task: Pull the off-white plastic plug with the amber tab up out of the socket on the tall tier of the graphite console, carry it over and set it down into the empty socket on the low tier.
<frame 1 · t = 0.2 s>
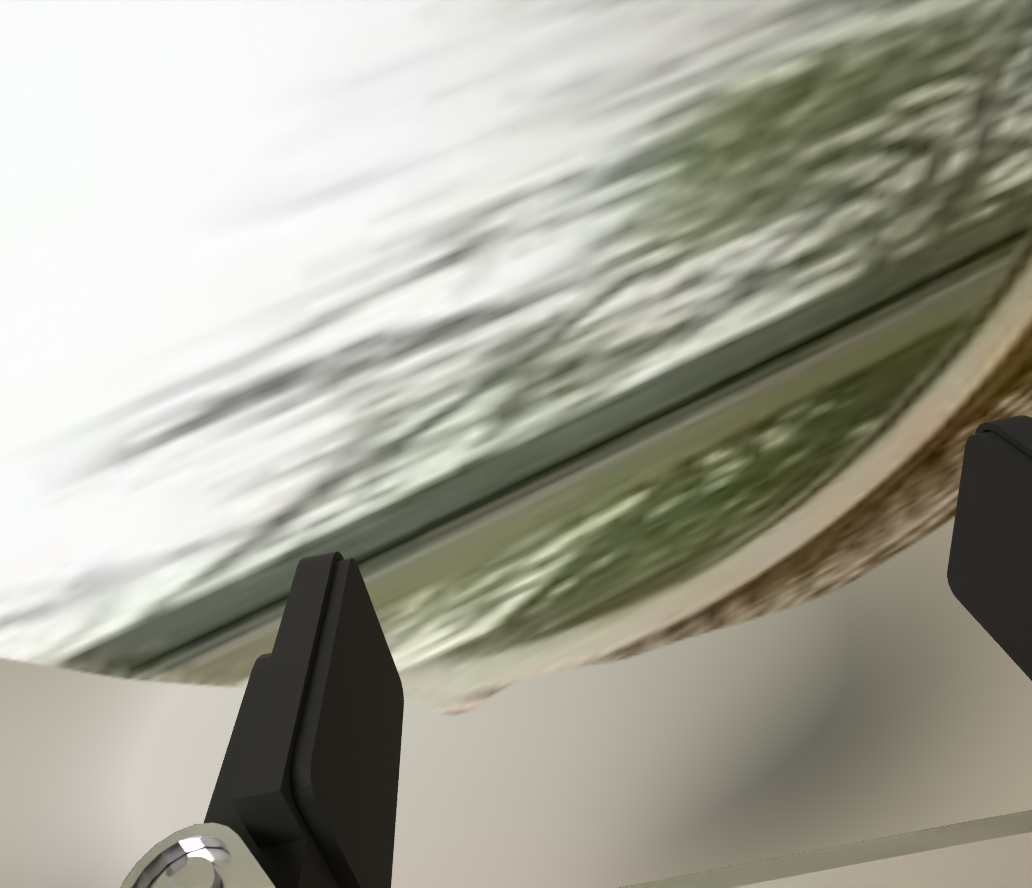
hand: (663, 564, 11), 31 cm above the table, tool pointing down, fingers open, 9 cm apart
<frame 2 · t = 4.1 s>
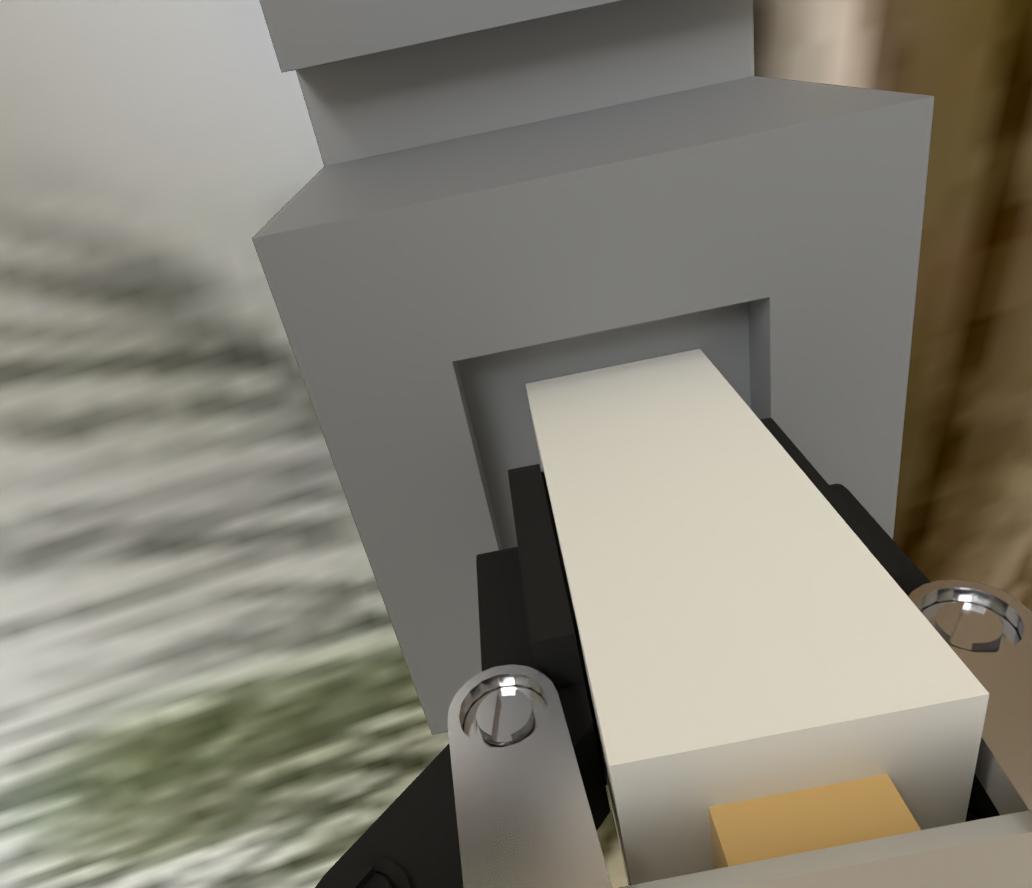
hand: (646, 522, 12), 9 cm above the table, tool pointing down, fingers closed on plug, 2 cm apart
console: (526, 71, 17), on the table
plug: (624, 460, 14), point 7 cm above the table, touching gripper
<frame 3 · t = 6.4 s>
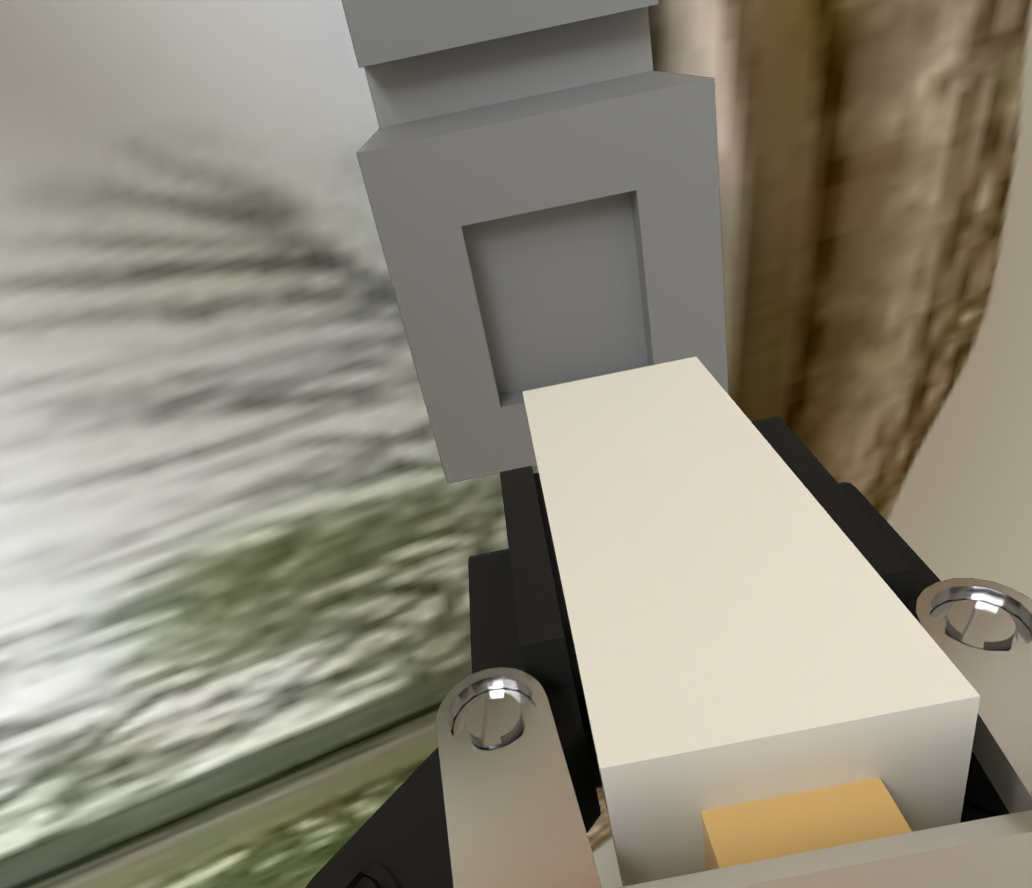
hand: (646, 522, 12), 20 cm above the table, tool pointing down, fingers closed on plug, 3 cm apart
console: (508, 68, 26), on the table
plug: (621, 468, 14), point 18 cm above the table, touching gripper
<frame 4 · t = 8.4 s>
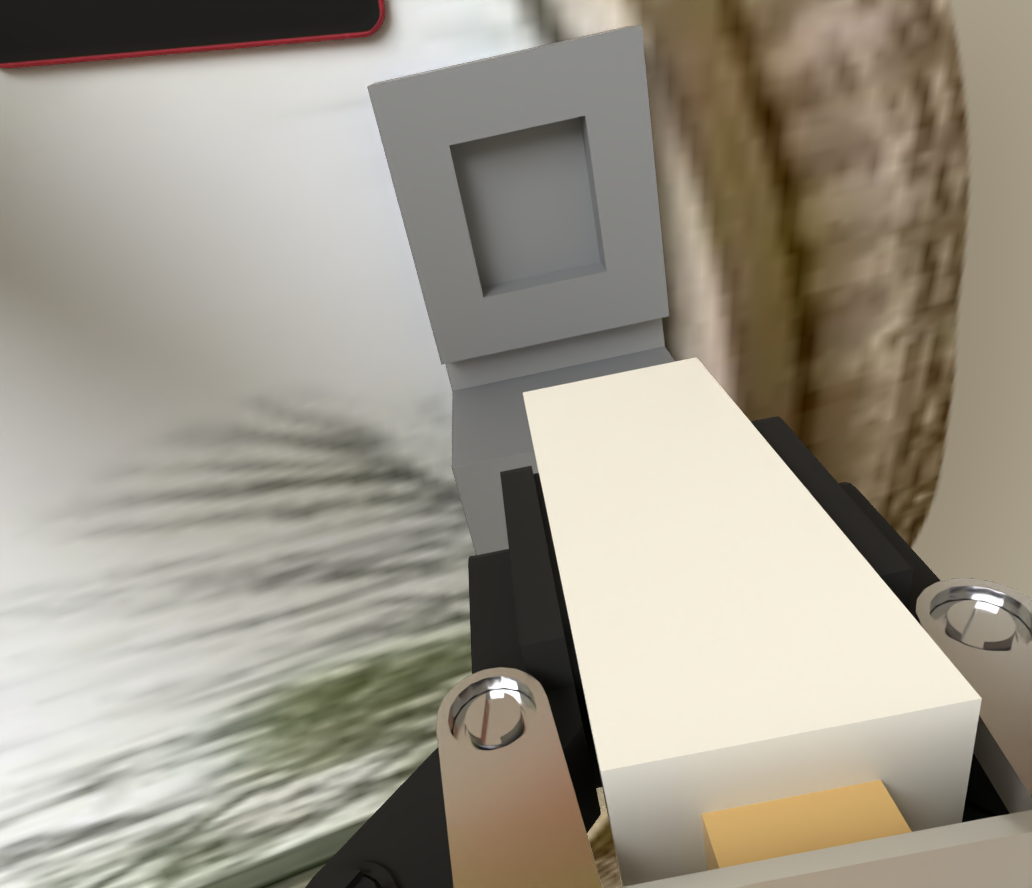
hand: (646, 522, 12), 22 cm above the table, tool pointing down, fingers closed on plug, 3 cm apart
console: (552, 341, 34), on the table
plug: (622, 469, 14), point 20 cm above the table, touching gripper
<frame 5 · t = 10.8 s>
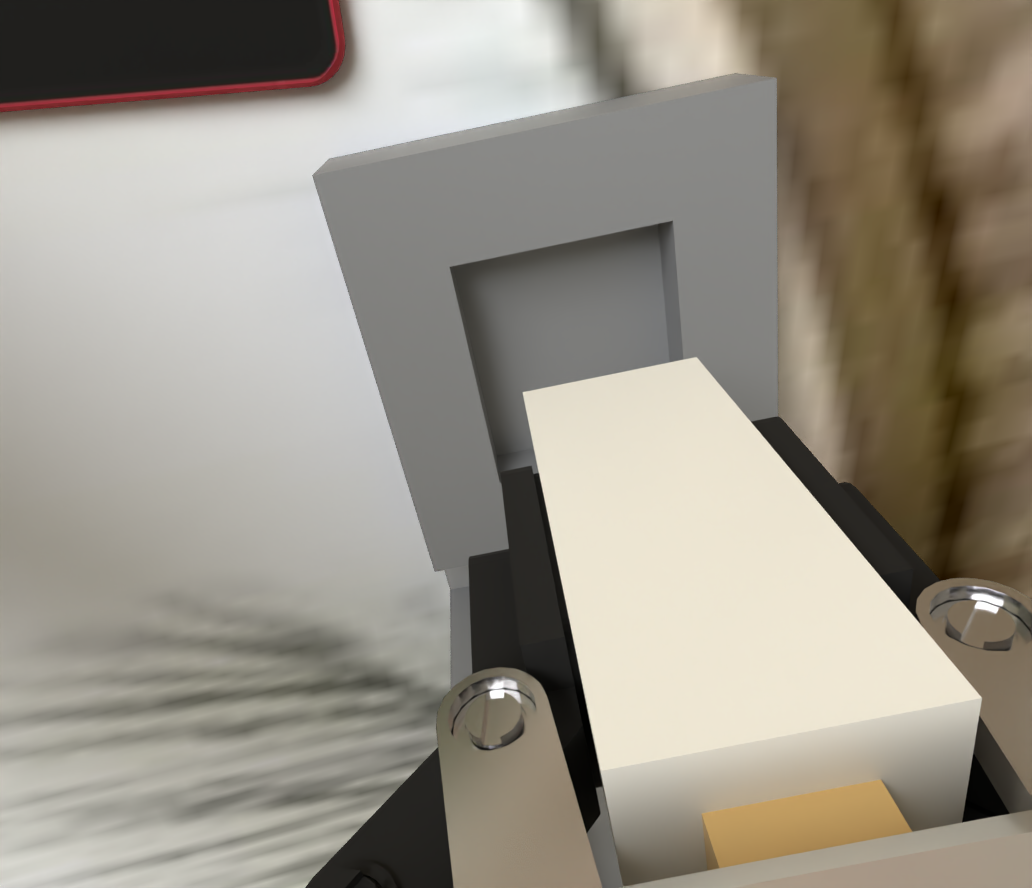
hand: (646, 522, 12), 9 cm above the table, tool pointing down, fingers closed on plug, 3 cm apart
console: (594, 515, 23), on the table
plug: (622, 468, 14), point 7 cm above the table, touching gripper
when the fingers open (4 cm above the table, at t = 12.8 s): plug stays where it is, resting on console.
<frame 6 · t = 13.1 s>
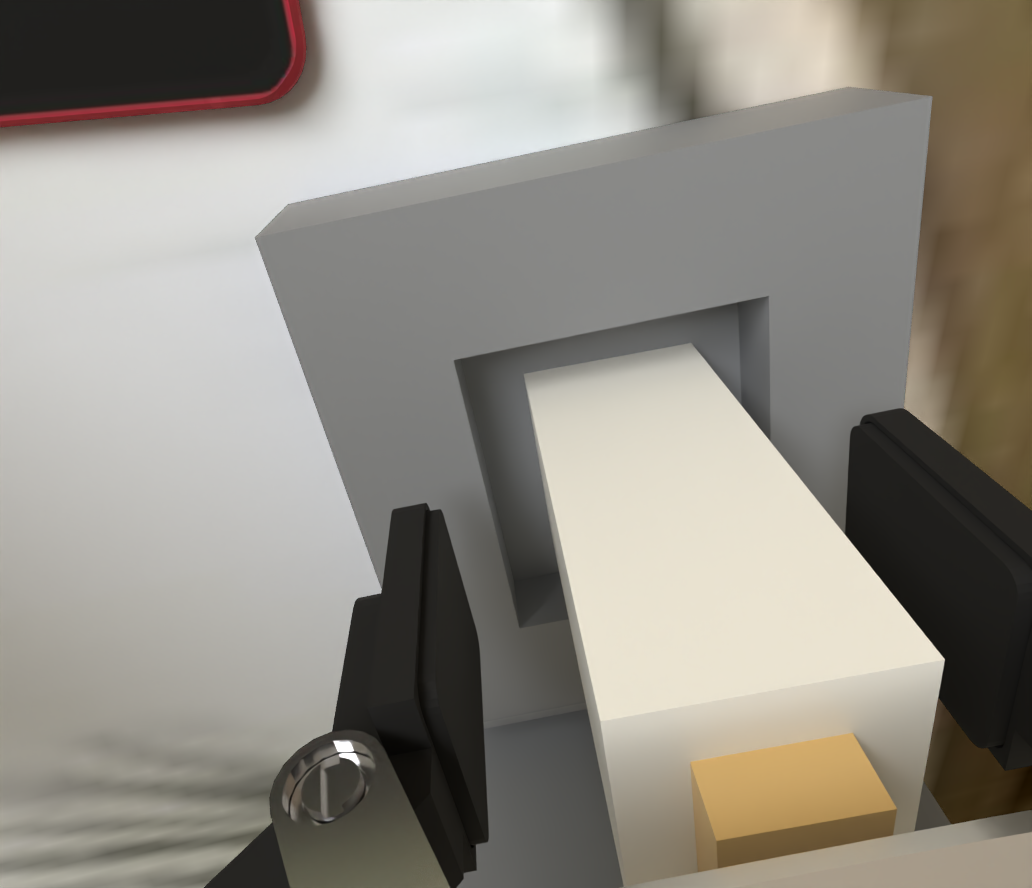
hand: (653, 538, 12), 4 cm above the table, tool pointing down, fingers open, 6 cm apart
console: (635, 639, 19), on the table
plug: (617, 449, 15), point 1 cm above the table, touching console
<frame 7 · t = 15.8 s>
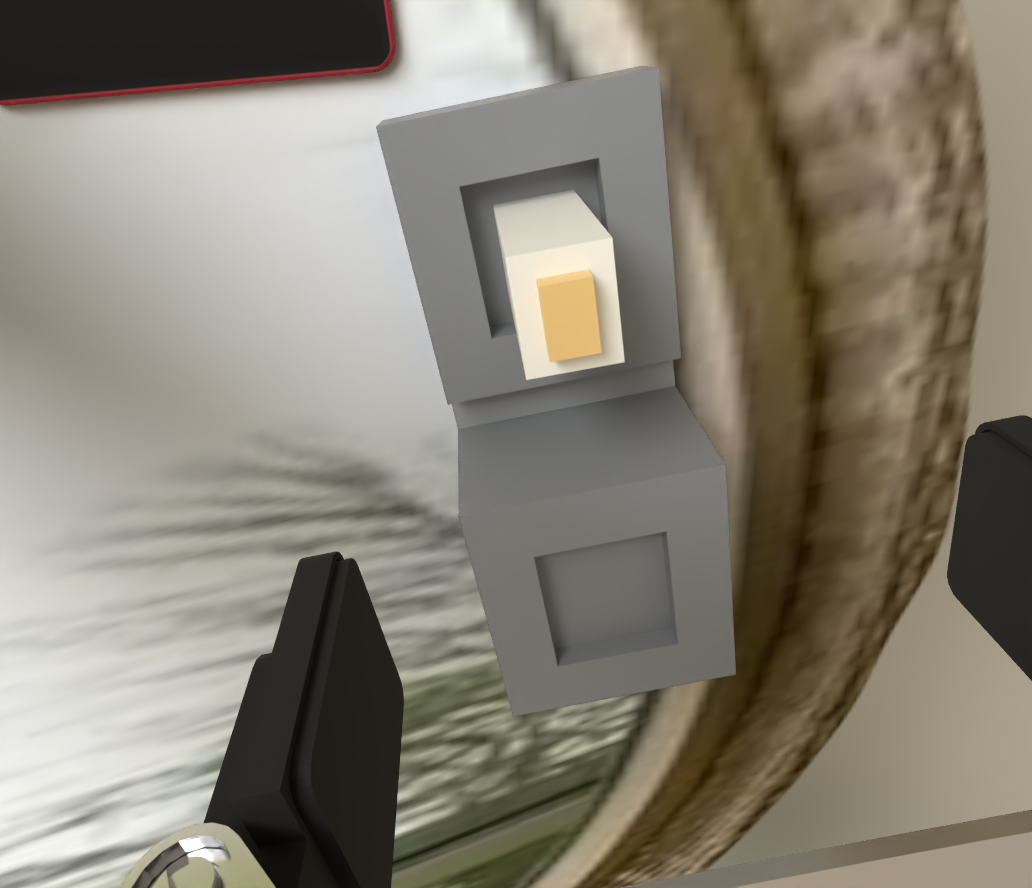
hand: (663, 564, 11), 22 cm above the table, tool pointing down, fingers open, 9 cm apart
console: (560, 378, 33), on the table
plug: (540, 248, 29), point 1 cm above the table, touching console
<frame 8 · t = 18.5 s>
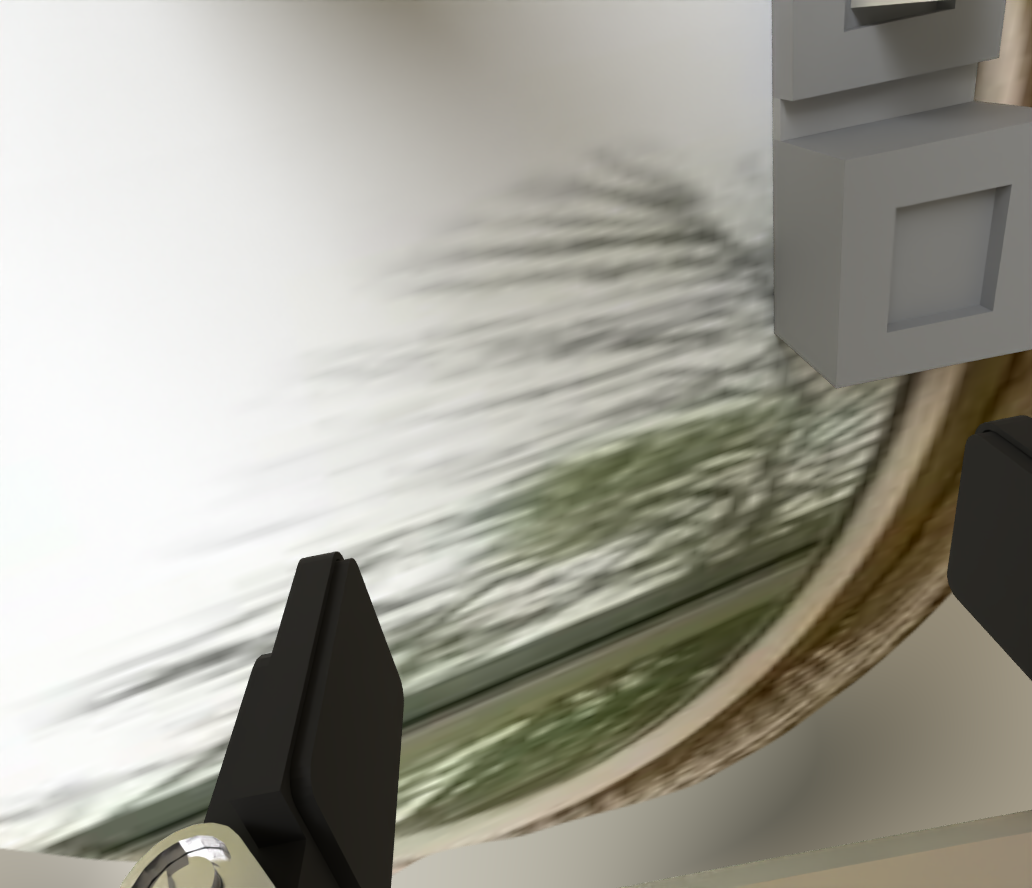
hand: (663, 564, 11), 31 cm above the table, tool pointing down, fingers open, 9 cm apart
console: (868, 98, 38), on the table
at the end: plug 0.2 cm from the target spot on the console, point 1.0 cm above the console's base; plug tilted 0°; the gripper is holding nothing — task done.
